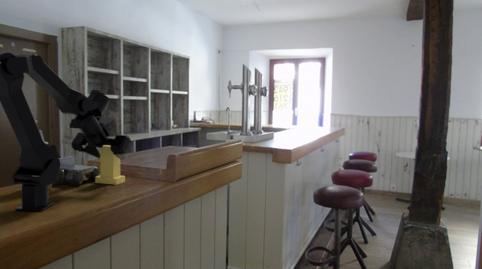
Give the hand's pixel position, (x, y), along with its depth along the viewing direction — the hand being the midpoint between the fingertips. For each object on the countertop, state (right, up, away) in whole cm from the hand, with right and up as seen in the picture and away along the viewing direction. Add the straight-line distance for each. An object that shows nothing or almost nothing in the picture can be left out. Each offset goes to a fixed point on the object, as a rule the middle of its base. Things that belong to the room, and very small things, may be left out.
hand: (111, 158), depth 118 cm
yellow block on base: (0, -8, 0) cm, 8 cm away
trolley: (-11, -8, -2) cm, 14 cm away
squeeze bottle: (-17, -9, -13) cm, 23 cm away
